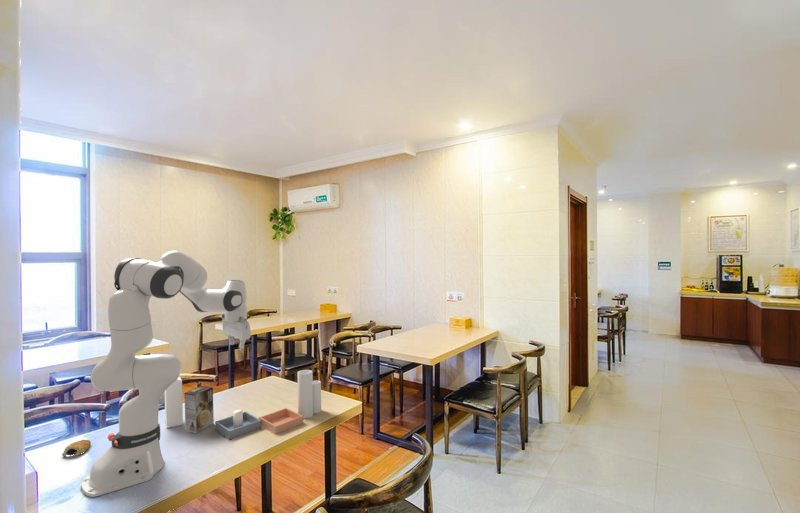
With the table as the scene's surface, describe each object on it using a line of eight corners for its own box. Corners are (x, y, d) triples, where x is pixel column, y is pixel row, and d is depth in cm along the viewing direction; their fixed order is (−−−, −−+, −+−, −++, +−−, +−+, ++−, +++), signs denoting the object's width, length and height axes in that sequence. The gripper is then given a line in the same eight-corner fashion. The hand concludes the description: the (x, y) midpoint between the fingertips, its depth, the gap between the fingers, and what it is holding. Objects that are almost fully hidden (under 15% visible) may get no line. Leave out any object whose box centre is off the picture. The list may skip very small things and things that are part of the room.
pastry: (76, 445, 148) (76, 435, 148) (96, 444, 149) (96, 434, 149) (60, 458, 139) (60, 448, 139) (81, 456, 140) (81, 446, 140)
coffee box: (202, 421, 168) (201, 385, 167) (214, 423, 166) (213, 386, 165) (184, 431, 159) (183, 392, 159) (196, 433, 157) (195, 394, 157)
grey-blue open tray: (229, 440, 151) (229, 431, 151) (215, 429, 160) (215, 421, 160) (261, 428, 161) (260, 420, 161) (246, 419, 170) (245, 411, 170)
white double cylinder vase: (306, 420, 168) (305, 375, 167) (294, 417, 171) (293, 372, 171) (323, 411, 178) (322, 368, 177) (311, 408, 181) (311, 366, 181)
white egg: (235, 430, 158) (235, 413, 158) (231, 428, 160) (231, 411, 160) (244, 427, 160) (244, 411, 160) (240, 425, 163) (240, 408, 163)
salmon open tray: (275, 435, 155) (275, 426, 155) (259, 425, 164) (258, 417, 163) (303, 424, 165) (303, 416, 164) (286, 415, 173) (286, 407, 173)
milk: (166, 428, 162) (165, 376, 161) (165, 423, 166) (163, 372, 166) (183, 424, 165) (181, 373, 165) (181, 419, 170) (179, 369, 170)
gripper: (254, 317, 168) (254, 349, 169) (233, 312, 182) (233, 341, 182) (239, 319, 164) (240, 352, 164) (219, 314, 177) (220, 343, 178)
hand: (236, 346), depth 173 cm, fingers open, 8 cm apart
